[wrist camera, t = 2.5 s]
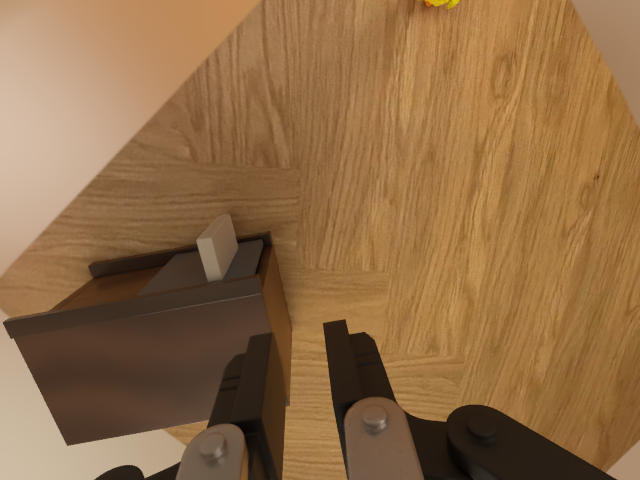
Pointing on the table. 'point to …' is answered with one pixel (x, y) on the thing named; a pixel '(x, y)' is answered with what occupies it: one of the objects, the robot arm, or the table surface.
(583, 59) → the table surface
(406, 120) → the table surface
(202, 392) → the cupboard
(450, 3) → the toy figure
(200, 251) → the door
